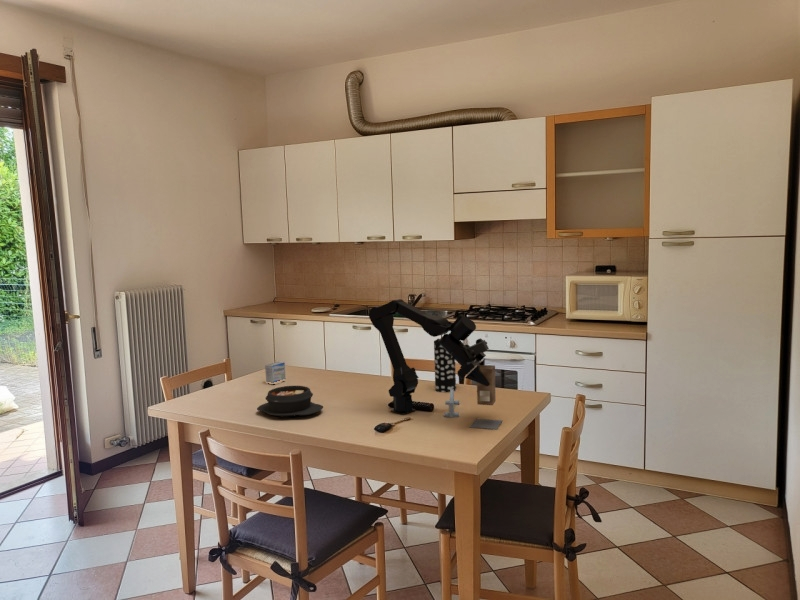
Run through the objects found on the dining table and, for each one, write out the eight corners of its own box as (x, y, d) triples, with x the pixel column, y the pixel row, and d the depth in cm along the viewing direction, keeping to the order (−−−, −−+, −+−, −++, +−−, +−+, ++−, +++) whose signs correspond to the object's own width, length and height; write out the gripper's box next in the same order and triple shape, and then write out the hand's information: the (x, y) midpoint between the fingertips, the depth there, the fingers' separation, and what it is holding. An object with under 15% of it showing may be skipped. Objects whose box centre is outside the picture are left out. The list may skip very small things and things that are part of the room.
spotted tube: (453, 392, 237) (451, 343, 235) (432, 391, 240) (431, 342, 237) (458, 387, 245) (456, 339, 243) (438, 386, 247) (436, 338, 245)
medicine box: (273, 385, 260) (272, 365, 259) (265, 384, 263) (264, 364, 262) (286, 381, 267) (285, 362, 266) (278, 380, 269) (277, 361, 268)
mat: (469, 427, 194) (469, 426, 194) (476, 419, 202) (476, 418, 202) (497, 429, 191) (497, 428, 191) (502, 421, 199) (502, 420, 199)
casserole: (246, 417, 214) (244, 394, 214) (276, 403, 231) (275, 382, 231) (305, 423, 204) (304, 399, 204) (333, 408, 221) (332, 386, 221)
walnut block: (477, 404, 195) (476, 368, 194) (480, 400, 200) (479, 364, 199) (492, 405, 193) (491, 369, 192) (495, 401, 198) (494, 365, 197)
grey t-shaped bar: (458, 417, 205) (458, 402, 205) (444, 417, 206) (443, 403, 205) (459, 402, 223) (458, 389, 222) (445, 402, 224) (445, 389, 223)
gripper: (466, 337, 187) (502, 373, 184) (479, 327, 204) (512, 360, 202) (442, 360, 190) (477, 396, 188) (457, 349, 208) (489, 382, 205)
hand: (490, 383), depth 196 cm, fingers closed on walnut block, 5 cm apart
